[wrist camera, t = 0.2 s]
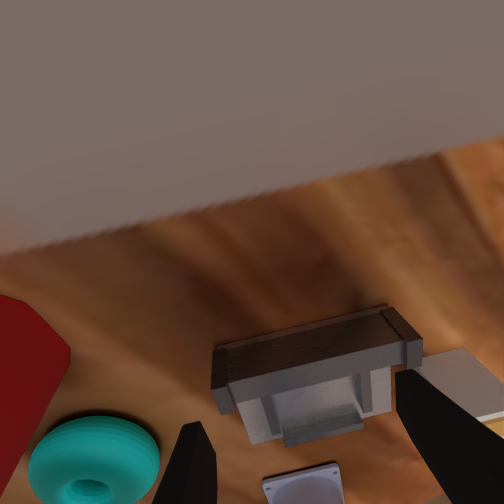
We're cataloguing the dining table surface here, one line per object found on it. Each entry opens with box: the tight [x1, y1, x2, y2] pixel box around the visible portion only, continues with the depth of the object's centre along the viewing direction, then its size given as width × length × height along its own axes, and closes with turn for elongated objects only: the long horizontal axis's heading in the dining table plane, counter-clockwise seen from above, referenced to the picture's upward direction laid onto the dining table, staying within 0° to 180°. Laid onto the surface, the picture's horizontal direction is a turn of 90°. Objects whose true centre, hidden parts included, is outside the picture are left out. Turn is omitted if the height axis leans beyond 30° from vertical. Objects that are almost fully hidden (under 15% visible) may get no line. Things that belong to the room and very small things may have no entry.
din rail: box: [211, 305, 423, 447], centre depth 22 cm, size 12×14×4 cm
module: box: [413, 348, 504, 439], centre depth 22 cm, size 5×4×6 cm
